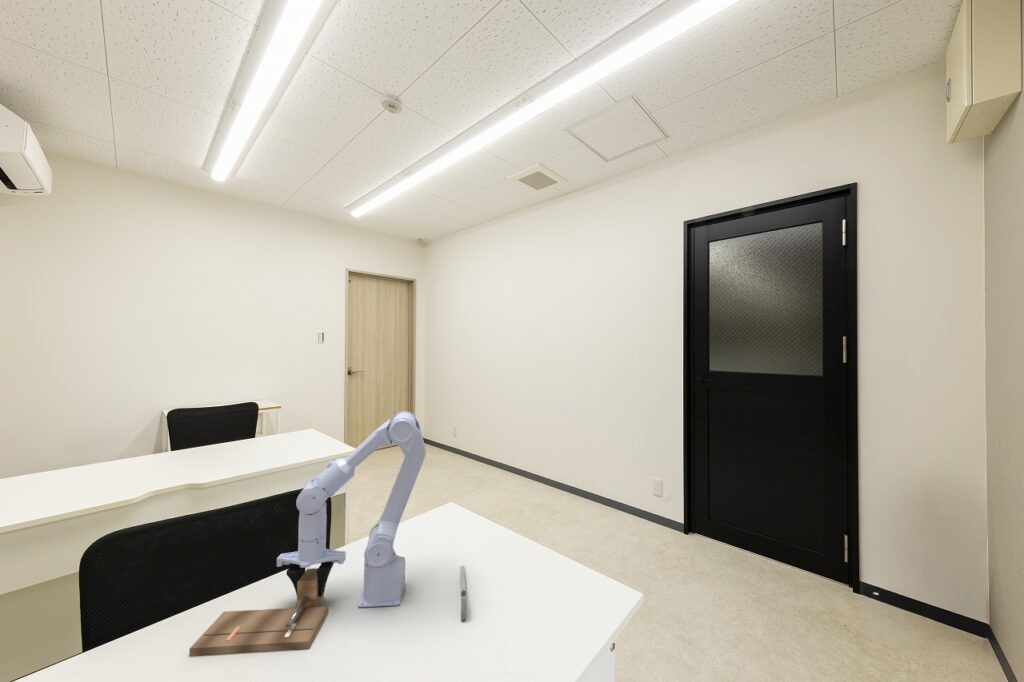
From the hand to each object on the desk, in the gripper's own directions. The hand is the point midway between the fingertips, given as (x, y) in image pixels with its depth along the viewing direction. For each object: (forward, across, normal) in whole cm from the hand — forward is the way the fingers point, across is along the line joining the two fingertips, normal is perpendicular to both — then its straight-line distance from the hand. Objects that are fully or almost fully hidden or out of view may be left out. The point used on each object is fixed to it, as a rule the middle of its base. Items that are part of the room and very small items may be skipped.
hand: (310, 594), depth 87 cm
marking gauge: (+2, 0, -4) cm, 5 cm away
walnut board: (+2, -6, -8) cm, 10 cm away
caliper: (+3, +35, +2) cm, 35 cm away
